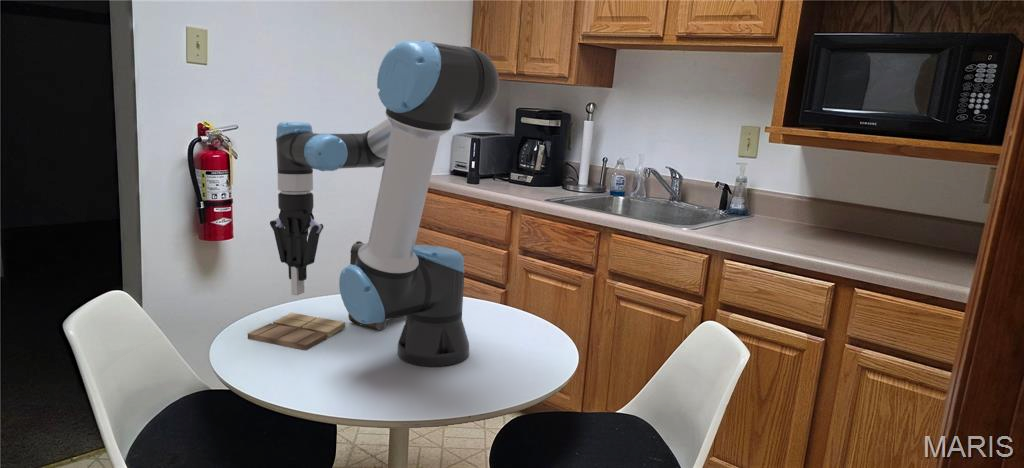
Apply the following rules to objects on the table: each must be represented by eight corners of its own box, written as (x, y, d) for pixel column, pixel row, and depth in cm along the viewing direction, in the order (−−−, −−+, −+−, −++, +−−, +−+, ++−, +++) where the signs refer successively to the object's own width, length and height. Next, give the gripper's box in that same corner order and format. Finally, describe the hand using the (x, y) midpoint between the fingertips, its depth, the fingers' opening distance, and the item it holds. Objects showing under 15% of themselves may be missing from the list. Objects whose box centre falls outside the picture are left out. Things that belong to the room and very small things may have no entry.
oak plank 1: (317, 321, 157) (317, 316, 157) (300, 331, 151) (299, 326, 151) (291, 317, 160) (291, 312, 159) (273, 326, 154) (273, 321, 153)
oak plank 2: (345, 326, 155) (345, 321, 155) (328, 337, 149) (328, 332, 149) (318, 322, 157) (318, 316, 157) (301, 332, 151) (301, 326, 151)
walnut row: (326, 339, 148) (326, 333, 148) (305, 350, 141) (305, 344, 141) (270, 328, 153) (270, 322, 153) (247, 338, 146) (247, 332, 146)
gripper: (330, 192, 151) (331, 293, 156) (282, 188, 155) (284, 286, 160) (310, 196, 144) (312, 301, 149) (260, 191, 148) (263, 294, 153)
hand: (298, 293), depth 154 cm, fingers closed
